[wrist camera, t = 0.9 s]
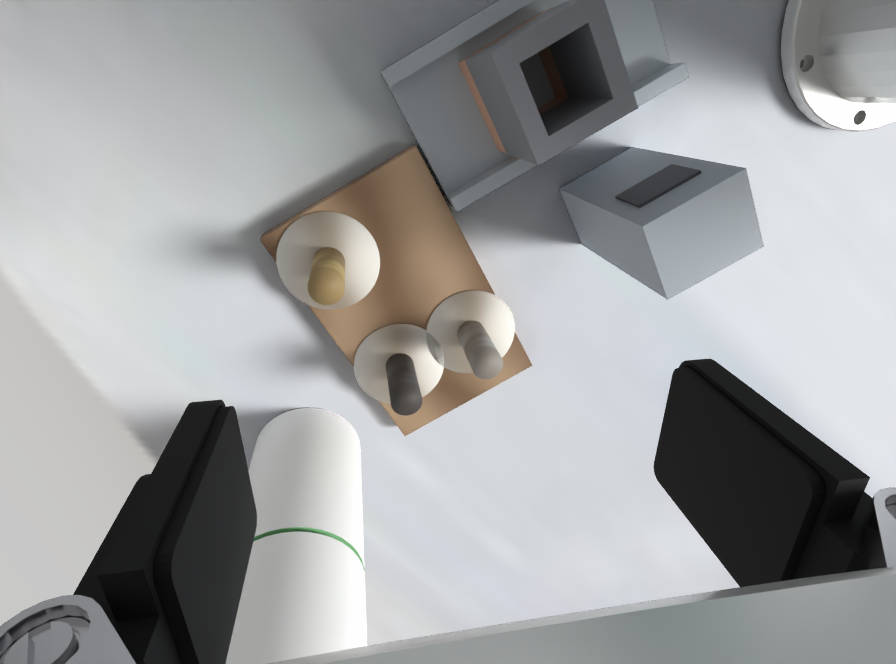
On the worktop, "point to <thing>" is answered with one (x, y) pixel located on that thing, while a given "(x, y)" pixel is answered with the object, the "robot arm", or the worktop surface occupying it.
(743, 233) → the gray rectangular block
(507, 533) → the worktop surface
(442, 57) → the chute
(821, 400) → the worktop surface
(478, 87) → the sleeve
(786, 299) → the worktop surface
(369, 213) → the pin board
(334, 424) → the cylindrical container
